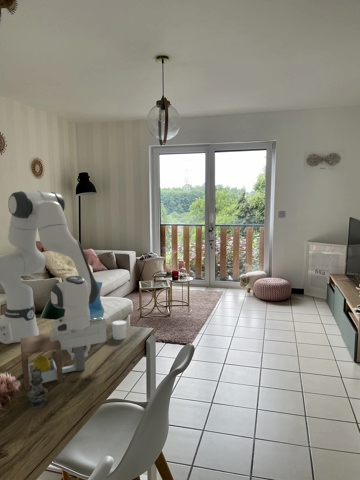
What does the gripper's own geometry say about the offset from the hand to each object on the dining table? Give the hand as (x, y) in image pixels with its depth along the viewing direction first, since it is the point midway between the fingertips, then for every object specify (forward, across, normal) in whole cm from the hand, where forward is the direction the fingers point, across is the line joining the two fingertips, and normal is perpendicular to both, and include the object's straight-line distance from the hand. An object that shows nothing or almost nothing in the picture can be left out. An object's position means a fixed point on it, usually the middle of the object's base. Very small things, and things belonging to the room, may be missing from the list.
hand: (79, 357), depth 134 cm
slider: (+4, +8, 0) cm, 9 cm away
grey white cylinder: (+5, -22, -23) cm, 32 cm away
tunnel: (+5, +13, 0) cm, 14 cm away
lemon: (+5, +13, 0) cm, 14 cm away
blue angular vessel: (+5, -10, -30) cm, 32 cm away
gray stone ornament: (+5, +16, +17) cm, 24 cm away
